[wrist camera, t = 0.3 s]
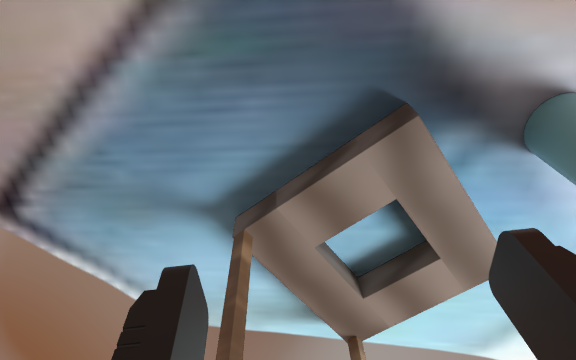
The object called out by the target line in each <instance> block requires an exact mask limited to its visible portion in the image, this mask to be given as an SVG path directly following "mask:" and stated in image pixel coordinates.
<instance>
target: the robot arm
mask: <svg viewBox="0 0 576 360" xmlns="http://www.w3.org/2000/svg"><path fill="white" fill-rule="evenodd" d="M489 284H490V288H491V291H492V293H493V295H494V297H495V298H496V300H497V301H498V303H499V304H500V306H501V307H502V309H503V310H504V312H505V313H506V314H507V316H508V317H509V319H510V320H511V322H512V323H513V325H514V326H515V328H516V329H517V330H518V332H519V333H520V335H521V336H522V338H523V339H524V341H525V342H526V344H527V345H528V346H529V348H530V349H531V351H532V352H533V354H534V355H535V357H536V358H537V360H576V255H575V254H574V253H572V252H570V251H568V250H567V249H565V248H563V247H561V246H555V245H554V244H553V243H552V242H551V241H550V240H549V239H548V238H547V237H546V236H545V235H544V234H543V233H542V232H540V231H539V230H537V229H535V228H529V229H520V230H511V231H503V232H502V233H501V234H500V235H499V238H498V241H497V245H496V248H495V252H494V256H493V259H492V263H491V267H490V270H489ZM207 332H208V308H207V303H206V299H205V296H204V292H203V289H202V286H201V282H200V279H199V275H198V272H197V269H196V267H195V265H184V266H175V267H166V268H164V269H163V271H162V273H161V277H160V280H159V283H158V286H157V289H156V290H147V291H144V292H143V293H142V294H141V295H140V297H139V298H138V299H137V300H136V302H135V303H134V304H133V305H132V306H131V308H130V310H129V312H128V315H127V318H126V321H125V323H124V326H123V332H121V334H120V337H119V340H118V343H117V349H115V351H114V354H113V356H112V359H111V360H204V354H205V346H206V338H207Z"/></svg>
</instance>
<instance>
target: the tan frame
mask: <svg viewBox="0 0 576 360" xmlns="http://www.w3.org/2000/svg"><path fill="white" fill-rule="evenodd" d="M396 199H397V200H398V201H399V203H400V204H401V206H402V207H403V208H404V210H405V211H406V212H407V214H408V215H409V216H410V218H411V219H412V220H413V222H414V223H415V224H416V226H417V227H418V229H419V230H420V231H421V233H422V234H423V235H424V237H425V238H426V239H427V241H425V242H423V243H421V244H420V245H418V246H416V247H414V248H412V249H410V250H409V251H407V252H405V253H403V254H401V255H399V256H398V257H396V258H394V259H392V260H390V261H388V262H386V263H385V264H383V265H381V266H379V267H377V268H375V269H374V270H372V271H370V272H368V273H366V274H364V275H363V276H361V277H359V278H357V277H356V276H355V274H354V273H353V272H352V271H351V270H350V269H349V268H348V267H347V266H346V265H345V264H344V263H343V262H342V260H341V259H340V258H339V257H338V256H337V255H336V254H335V253H334V252H333V251H332V250H331V249H330V248H329V246H328V245H327V244H326V243H325V241H326V240H328V239H330V238H331V237H333V236H335V235H337V234H338V233H340V232H342V231H343V230H345V229H347V228H348V227H350V226H352V225H353V224H355V223H357V222H358V221H360V220H362V219H364V218H365V217H367V216H369V215H370V214H372V213H374V212H375V211H377V210H379V209H380V208H382V207H384V206H385V205H387V204H389V203H390V202H392V201H394V200H396ZM233 238H234V242H233V249H232V255H231V262H230V269H229V275H228V282H227V288H226V295H225V302H224V308H223V315H222V321H221V328H220V335H219V341H218V348H217V355H216V360H243V350H244V338H245V326H246V314H247V302H248V290H249V278H250V266H251V255H252V256H254V257H255V258H256V259H257V260H258V261H259V262H260V263H261V264H262V265H263V266H264V267H265V268H267V269H268V270H269V271H270V272H271V273H272V274H273V275H274V276H275V277H276V278H277V279H279V280H280V281H281V282H282V283H283V284H284V285H285V286H286V287H287V288H288V289H289V290H290V291H292V292H293V293H294V294H295V295H296V296H297V297H298V298H299V299H300V300H301V301H302V302H304V303H305V304H306V305H307V306H308V307H309V308H310V309H311V310H312V311H313V312H314V313H315V314H317V315H318V316H319V317H320V318H321V319H322V320H323V321H324V322H325V323H326V324H327V325H329V326H330V327H331V328H332V329H333V330H334V331H335V332H336V333H337V334H338V335H339V336H341V337H342V338H343V339H344V340H345V341H346V342H347V343H348V346H349V351H350V357H351V360H366V357H365V353H364V348H363V344H362V341H363V340H365V339H367V338H370V337H372V336H374V335H376V334H378V333H380V332H382V331H384V330H386V329H388V328H390V327H392V326H394V325H396V324H398V323H401V322H403V321H405V320H407V319H409V318H411V317H413V316H415V315H417V314H419V313H421V312H423V311H425V310H427V309H429V308H432V307H434V306H436V305H438V304H440V303H442V302H444V301H446V300H448V299H450V298H452V297H454V296H456V295H458V294H460V293H463V292H465V291H467V290H469V289H471V288H473V287H475V286H477V285H479V284H481V283H483V282H485V281H487V280H489V270H490V267H491V263H492V259H493V256H494V252H495V248H496V245H497V241H496V240H495V238H494V237H493V235H492V233H491V232H490V230H489V228H488V227H487V225H486V224H485V222H484V220H483V219H482V217H481V215H480V214H479V212H478V211H477V209H476V207H475V206H474V204H473V202H472V201H471V199H470V198H469V196H468V194H467V193H466V191H465V189H464V188H463V186H462V185H461V183H460V181H459V180H458V178H457V176H456V175H455V173H454V172H453V170H452V168H451V167H450V165H449V163H448V162H447V160H446V159H445V157H444V155H443V154H442V152H441V150H440V149H439V147H438V146H437V144H436V142H435V141H434V139H433V137H432V136H431V134H430V133H429V131H428V129H427V128H426V126H425V124H424V123H423V121H422V120H421V118H420V116H419V115H418V114H417V113H416V112H415V111H414V110H413V108H412V107H411V106H410V105H409V104H408V103H406V104H404V105H403V106H402V107H400V108H399V109H397V110H396V111H394V112H393V113H391V114H390V115H388V116H387V117H385V118H384V119H382V120H381V121H379V122H378V123H376V124H375V125H373V126H372V127H370V128H369V129H367V130H366V131H364V132H363V133H361V134H360V135H358V136H357V137H355V138H354V139H352V140H351V141H349V142H348V143H346V144H345V145H343V146H342V147H340V148H339V149H337V150H336V151H334V152H333V153H331V154H330V155H329V156H327V157H326V158H324V159H323V160H321V161H320V162H318V163H317V164H315V165H314V166H312V167H311V168H309V169H308V170H306V171H305V172H303V173H302V174H300V175H299V176H297V177H296V178H294V179H293V180H291V181H290V182H288V183H287V184H285V185H284V186H282V187H281V188H279V189H278V190H276V191H275V192H273V193H272V194H270V195H269V196H267V197H266V198H264V199H263V200H261V201H260V202H259V203H257V204H256V205H254V206H253V207H251V208H250V209H248V210H247V211H245V212H244V213H242V214H241V215H239V216H238V217H236V218H235V224H234V231H233Z"/></svg>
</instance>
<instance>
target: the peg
mask: <svg viewBox="0 0 576 360" xmlns="http://www.w3.org/2000/svg"><path fill="white" fill-rule="evenodd" d="M524 142H525V145H526V147H527V148H528V149H529V150H530V151H531V152H532V153H533V154H535V155H536V156H537V157H539V158H540V159H541V160H543V161H544V162H545V163H547V164H548V165H549V166H551V167H552V168H553V169H555V170H556V171H557V172H559V173H560V174H561V175H563V176H564V177H566V178H567V179H568V180H570V181H571V182H572V183H574V184H575V185H576V93H564V94H560V95H557V96H555V97H553V98H551V99H549V100H547V101H546V102H544V103H543V104H541V105H540V106H539V107H538V108H537V109H536V110H535V111H534V112H533V113H532V115H531V116H530V118H529V119H528V121H527V123H526V126H525V129H524Z"/></svg>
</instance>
